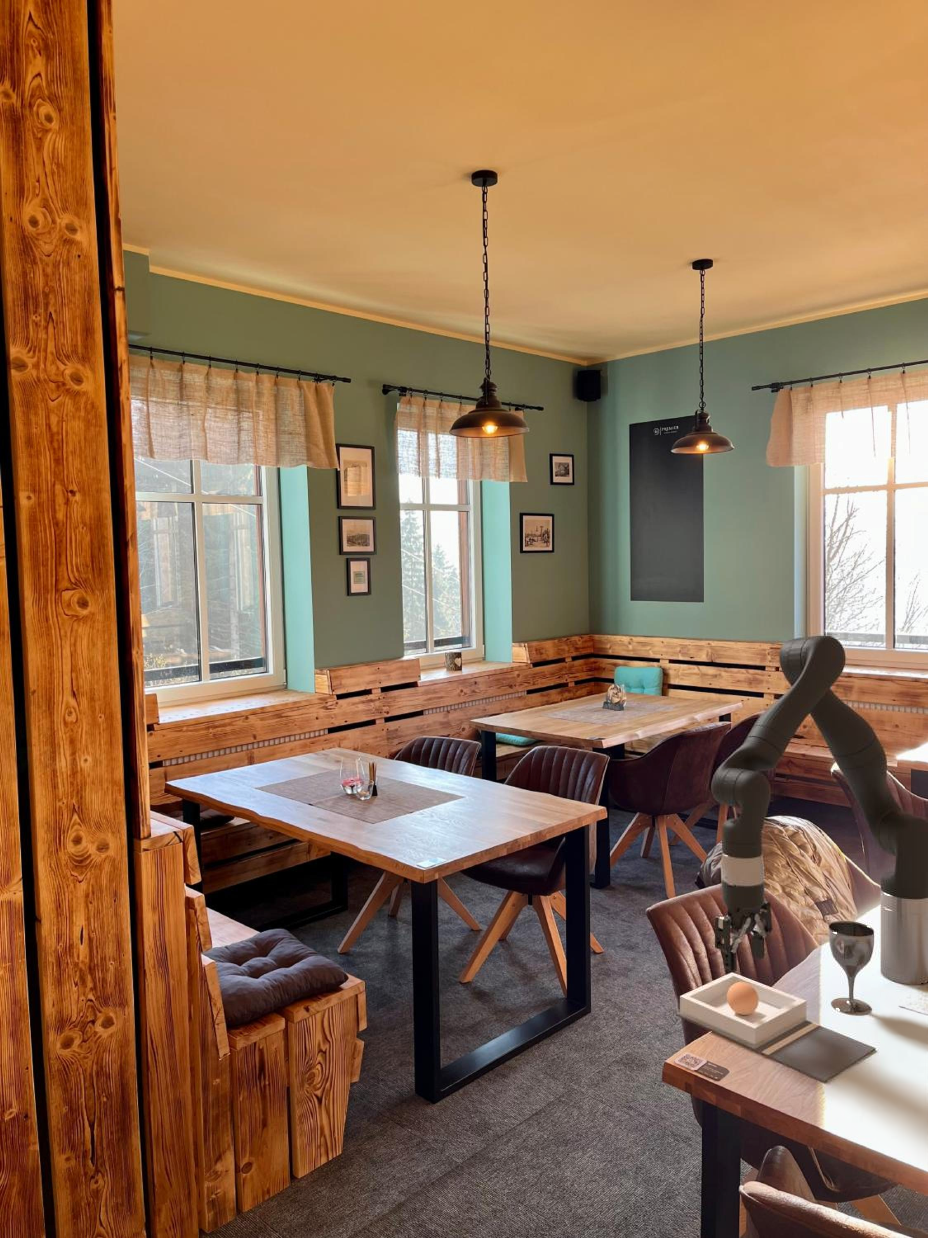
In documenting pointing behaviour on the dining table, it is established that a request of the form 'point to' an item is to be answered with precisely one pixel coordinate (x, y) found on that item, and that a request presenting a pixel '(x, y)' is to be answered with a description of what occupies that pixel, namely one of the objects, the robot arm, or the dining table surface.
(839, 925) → the wine glass
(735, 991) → the ball
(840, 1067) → the mat
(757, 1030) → the tray
